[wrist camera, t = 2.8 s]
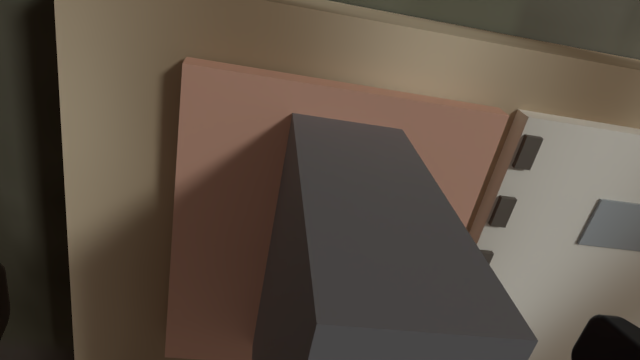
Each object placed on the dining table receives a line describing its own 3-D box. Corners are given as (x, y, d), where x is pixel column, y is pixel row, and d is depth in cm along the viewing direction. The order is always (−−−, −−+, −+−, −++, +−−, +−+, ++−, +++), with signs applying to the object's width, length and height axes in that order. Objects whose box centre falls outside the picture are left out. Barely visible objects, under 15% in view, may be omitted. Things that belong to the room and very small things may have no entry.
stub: (167, 342, 10) (91, 657, 6) (186, 56, 7) (67, 243, 3) (405, 357, 11) (493, 642, 7) (499, 107, 8) (752, 310, 4)
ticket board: (97, 315, 12) (66, 385, 10) (87, -46, 8) (36, -38, 6) (669, 357, 14) (725, 419, 12) (853, 100, 11) (969, 135, 9)
